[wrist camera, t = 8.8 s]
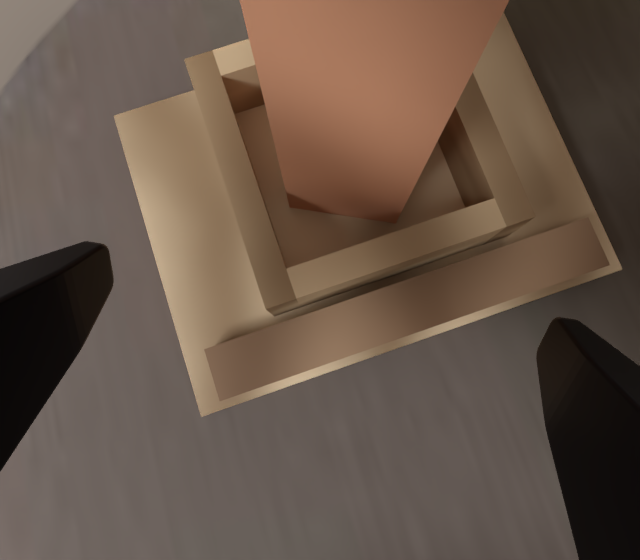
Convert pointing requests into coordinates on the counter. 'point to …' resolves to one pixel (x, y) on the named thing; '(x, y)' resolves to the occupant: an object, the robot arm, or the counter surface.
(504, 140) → the jig
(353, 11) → the block
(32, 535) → the counter surface
